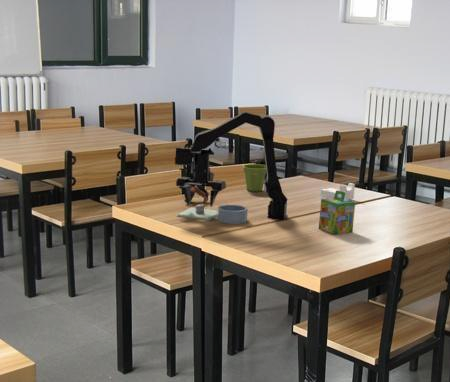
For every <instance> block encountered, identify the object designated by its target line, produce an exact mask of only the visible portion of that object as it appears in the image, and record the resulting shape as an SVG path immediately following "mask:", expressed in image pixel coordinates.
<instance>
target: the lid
mask: <svg viewBox="0 0 450 382" xmlns="http://www.w3.org/2000/svg"><path fill="white" fill-rule="evenodd" d="M177 216H179V217H178V218H184V217H188V218H187V219H192V218H196V219H195V220H200V219H204V220H203V221H208V220H211V219H212V218H214V217H216V216H217V210H216V209H215V210H213V209H207V208H206V209H205V205H204V204H196V205H195V207H189V208H187V209H186V210H183V211H181V212H179V213H178V214H177ZM216 218H217V217H216ZM214 219H215V218H214ZM212 220H213V219H212ZM212 220H211V221H212Z"/></svg>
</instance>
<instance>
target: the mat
mask: <svg viewBox="0 0 450 382" xmlns="http://www.w3.org/2000/svg"><path fill="white" fill-rule="evenodd" d="M175 217H177V218H180V217H179V216H178V215H176V216H175ZM183 218H185V219H189V218H188V217H183ZM216 218H217V216H216V217H214V218H212V219H211V220H207V222H209V221H212V220H214V219H216ZM191 219H192V220H193V219H194V220H197V219H196V218H191ZM199 220H201V221H205V220H204V219H199Z"/></svg>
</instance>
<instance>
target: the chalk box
mask: <svg viewBox="0 0 450 382" xmlns="http://www.w3.org/2000/svg"><path fill="white" fill-rule="evenodd" d="M338 190H339V189H338ZM338 190H337V191H336V193H335V196H334V198H321V199H320V209H319V210H320V211H319V212H320V213H319V220H318V221H319V222H318V230H321V231H323V232H326V233H330V234H332V235H341V234H347V233H353V231H354V230H353V229H354V220H355V219H354V218H355V210H356V209H355V207H356V203H355V201H353V200H351V199H349V200H347V199H344V197H345V192H342V191H338ZM338 194H341V195H342V197H341V198H340V197H338Z"/></svg>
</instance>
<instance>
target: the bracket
mask: <svg viewBox="0 0 450 382" xmlns="http://www.w3.org/2000/svg"><path fill="white" fill-rule="evenodd" d="M355 187H356V186H355V183H351V182H349V183H348V185H345V184H339V189H337V188H332V187H329V188H323V189H321V190H320V197H321V196H322V197H321V198H324V197H326V198H325V199H327V198H334V196H335V193H336V191H337V190H338V191H342V192H345V197H344V199H347V200H353V199H354V197H355ZM338 197H340V198H341V197H342V195H341V194H338Z"/></svg>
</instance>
